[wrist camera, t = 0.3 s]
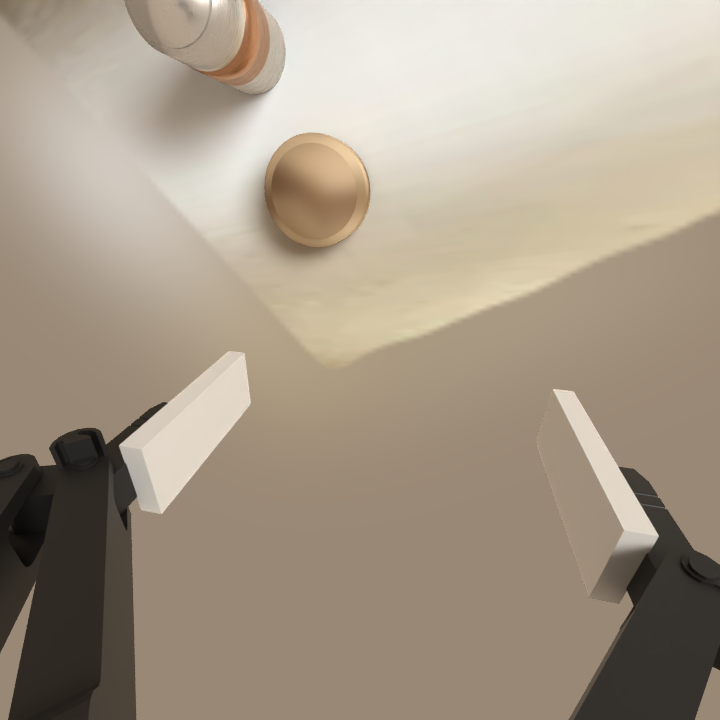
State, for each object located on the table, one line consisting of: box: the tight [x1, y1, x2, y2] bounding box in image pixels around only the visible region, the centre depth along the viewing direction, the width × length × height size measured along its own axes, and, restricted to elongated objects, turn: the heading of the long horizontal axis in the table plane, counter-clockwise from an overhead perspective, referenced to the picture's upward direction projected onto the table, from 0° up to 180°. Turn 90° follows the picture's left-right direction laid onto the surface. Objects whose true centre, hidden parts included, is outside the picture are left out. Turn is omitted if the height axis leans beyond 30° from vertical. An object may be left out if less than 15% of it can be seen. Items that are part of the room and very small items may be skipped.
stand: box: [264, 133, 370, 247], centre depth 37 cm, size 10×10×3 cm
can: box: [125, 0, 286, 94], centre depth 29 cm, size 7×7×12 cm
